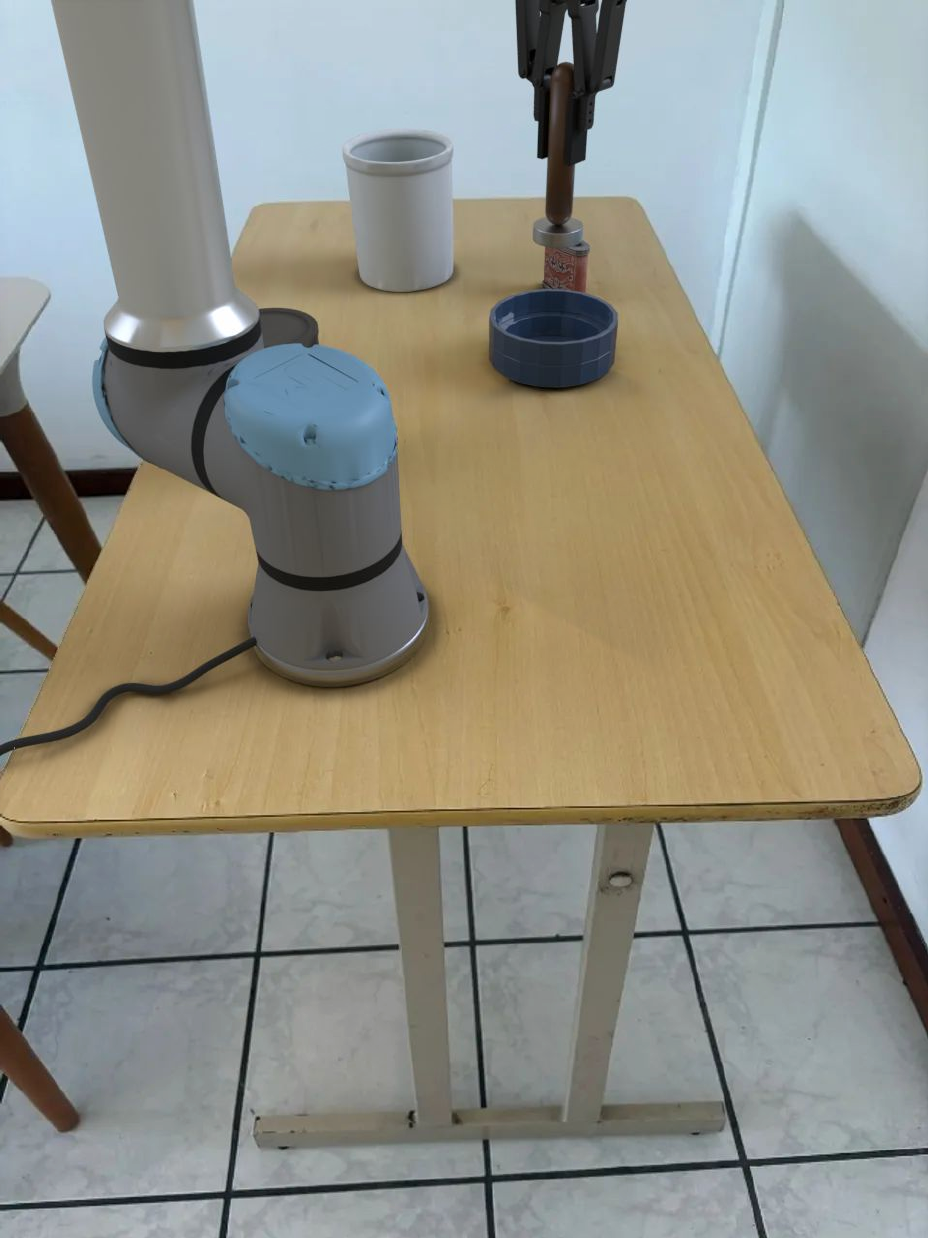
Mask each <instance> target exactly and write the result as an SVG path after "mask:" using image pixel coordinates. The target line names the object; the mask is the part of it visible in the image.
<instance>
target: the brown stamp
mask: <svg viewBox="0 0 928 1238" xmlns="http://www.w3.org/2000/svg"><path fill="white" fill-rule="evenodd" d="M572 91H575V81H574V63H573V62H569V61H563V62H560V63H558V64H557V66H556V67H555V68H554V70H553V72H552V74H551V83H550V108H549V132H548V157H547V158H546V184H545V206H544V207H545V209H544V212H545V216H544V217H540V218H538V219H536V220H534V222H533V224H532V241H533V242H534V243H535V244H537V245H538V246H542V247H544V248H545V247H549V248H567V247H572V246H575V245H578V244H579V243H581V241H582V240H583V238H584V224H583V222H582V221H581V220H579V219H577V218H574V217H572V215H573V210H574V209H573V208H574V206H573V205H574V193H575V192H574V191H575V176H576V175H575V174H576V164H574V165H572V166H568V165H564V164H565V144H566V125H567V106H568V96H570V95H571V92H572Z"/></svg>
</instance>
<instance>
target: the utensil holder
mask: <svg viewBox="0 0 928 1238" xmlns="http://www.w3.org/2000/svg"><path fill="white" fill-rule="evenodd" d="M453 157H454V142H453V140H452V139H451V138H450V137H449V136H447V135H445V134H443V133H440V132H437V131H433V130H427V129H419V128H389V129H382V130H381V129H380V130H375V131H370V132H369V131H368V132H365V133H361V134H359V135H356V136H354V137H352V138H350V139H349V140H347V141H346V142H344V144H343V146H342V160H343V162H344V164H345V169H346V170H345V171H346V179H347V187H348V188H347V189H348V194H349V203H350V211H351V218H352V228H353V237H354V243H355V249H356V258H357V265H358V266H357V267H358V272H359V277H360V279H361V281H362V282H363V283H364V284H365V285H367V286H369V287H371V288H373V289H376V290H380V291H385V292H392V293H393V292H394V293H411V292H419V291H425V290H428V289H432V288H435V287H438V286H440V285H443V284H444V283H446V282H447V281H448V280H450V278H451V277H452V275H453V274H454V197H453V196H454V195H453V164H452V158H453Z"/></svg>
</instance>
